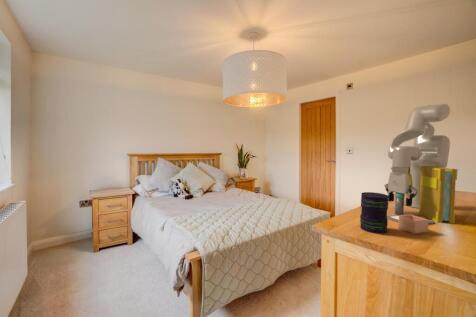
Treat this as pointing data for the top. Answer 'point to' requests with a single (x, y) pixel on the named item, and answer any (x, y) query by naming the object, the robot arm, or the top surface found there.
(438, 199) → the book
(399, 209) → the cylinder
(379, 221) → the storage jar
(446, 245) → the top surface
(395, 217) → the writing mat
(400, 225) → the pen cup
